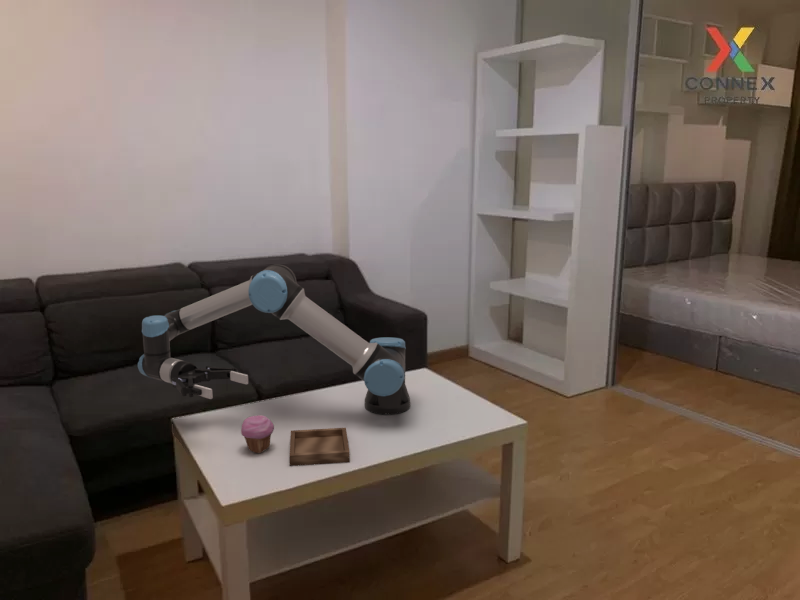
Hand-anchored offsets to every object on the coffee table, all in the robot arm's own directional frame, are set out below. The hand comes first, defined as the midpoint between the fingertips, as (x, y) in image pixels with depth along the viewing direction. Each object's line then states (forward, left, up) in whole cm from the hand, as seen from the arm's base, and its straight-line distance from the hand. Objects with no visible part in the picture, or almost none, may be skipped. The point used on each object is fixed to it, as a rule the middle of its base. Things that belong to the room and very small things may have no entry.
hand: (229, 386), depth 182 cm
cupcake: (-8, +6, -17) cm, 20 cm away
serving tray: (-25, +9, -17) cm, 31 cm away
